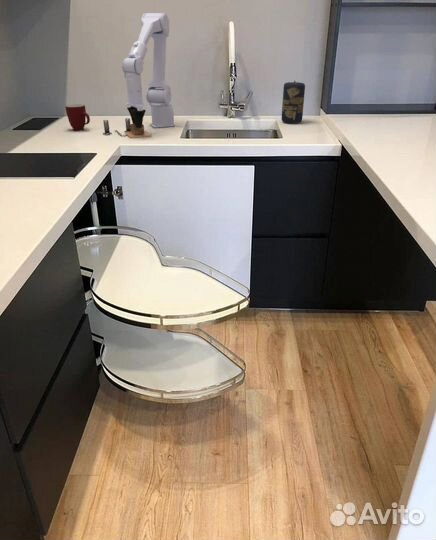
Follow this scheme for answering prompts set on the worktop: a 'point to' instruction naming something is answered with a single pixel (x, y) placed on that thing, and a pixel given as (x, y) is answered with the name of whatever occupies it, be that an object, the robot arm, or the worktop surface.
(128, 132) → the pad
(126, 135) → the grey flat l-shaped piece
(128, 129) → the post
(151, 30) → the robot arm
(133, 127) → the open wooden crate
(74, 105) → the mug
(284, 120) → the canister
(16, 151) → the worktop surface
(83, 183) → the worktop surface
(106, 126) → the post
